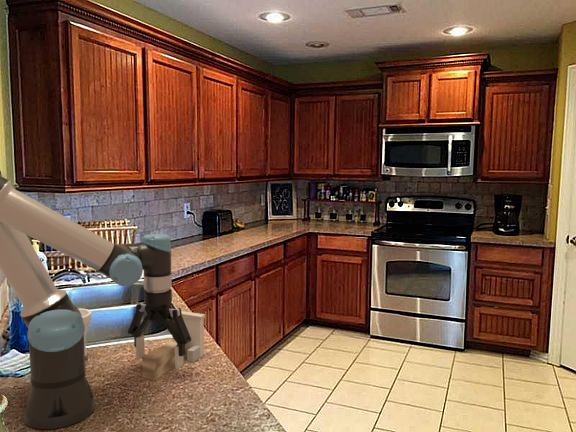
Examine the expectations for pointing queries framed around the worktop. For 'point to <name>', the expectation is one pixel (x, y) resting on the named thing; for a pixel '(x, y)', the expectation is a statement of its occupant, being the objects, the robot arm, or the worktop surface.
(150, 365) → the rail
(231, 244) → the worktop surface
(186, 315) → the headboard
